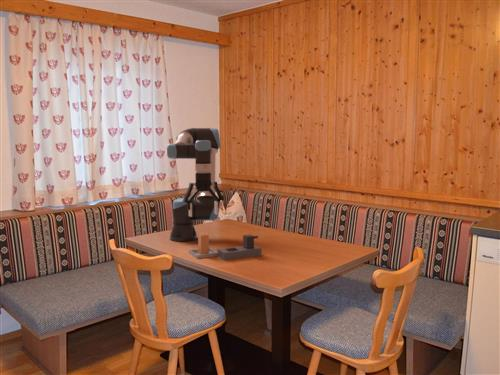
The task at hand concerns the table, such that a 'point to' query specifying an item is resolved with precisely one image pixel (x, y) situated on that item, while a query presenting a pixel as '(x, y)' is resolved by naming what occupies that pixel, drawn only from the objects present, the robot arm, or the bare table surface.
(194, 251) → the tray
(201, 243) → the plug
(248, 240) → the strip
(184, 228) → the robot arm
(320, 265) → the table surface
